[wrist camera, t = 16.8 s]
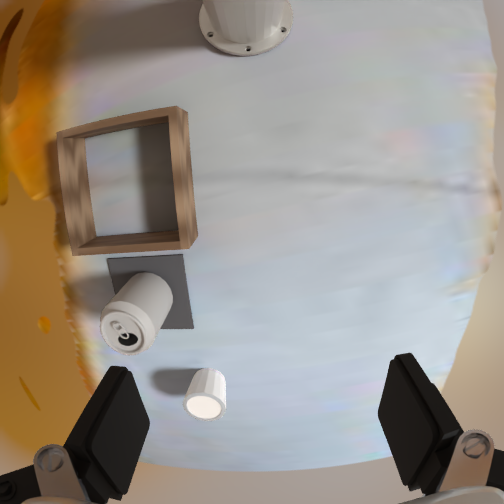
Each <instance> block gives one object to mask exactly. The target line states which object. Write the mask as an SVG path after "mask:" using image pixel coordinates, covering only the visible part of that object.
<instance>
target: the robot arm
mask: <svg viewBox="0 0 504 504" xmlns="http://www.w3.org/2000/svg"><path fill="white" fill-rule="evenodd" d="M202 2H203V4H202V6H201V9H200V12H199V25H200V29H201V31H202V33H203V35H204V37H205V38H206V39H207V41H208V42H209V43H210V44H211V45H213V46H214V47H215V48H217V49H219V50H221V51H223V52H225V53H229V54H232V55H239V56H252V55H257V54H262V53H264V52H267V51H270V50H271V49H273V48H275V47H277V46H278V45H279V44H280V43H282V42H283V41H284V39H285V38H286V37H287V36H288V34H289V32H290V30H291V27H292V23H293V10H292V7H291V5H290V3H289V1H288V0H202ZM281 31H285V32H281ZM210 35H213V36H212V37H210ZM247 49H250V51H246V50H247ZM378 418H379V421H380V423H381V426H382V428H383V431H384V434H385V436H386V439H387V442H388V444H389V447H390V450H391V452H392V455H393V458H394V460H395V463H396V466H397V469H398V472H399V474H400V477H401V480H402V483H403V485H405V486H406V485H408V488H409V490H410V491H413V490H416V489H420V488H421V491H422V493H423V496H422V497H421V498H417V499H414V500H411V501H407V502H403V503H400V504H504V451H501V450H497V449H494V442H493V439H492V438H491V436H490V435H489V434H487V433H486V432H484V431H481V430H475V429H474V430H468V431H466V432H464V431H463V430H462V428H461V426H460V425H459V423H458V422H457V420H456V418H455V416H454V415H453V413H452V411H451V410H450V408H449V406H448V405H447V403H446V402H445V400H444V398H443V397H442V395H441V394H440V392H439V391H438V389H437V387H436V386H435V385H434V384H433V383H431V382H430V380H429V379H428V377H427V376H426V374H425V373H424V371H423V369H422V368H421V366H420V365H419V363H418V362H417V360H416V359H415V357H414V356H413V354H412V353H405V354H400V355H396V356H395V358H394V359H393V360H391V361H390V365H389V369H388V373H387V378H386V382H385V386H384V390H383V394H382V398H381V401H380V405H379V409H378ZM149 426H150V421H149V418H148V415H147V413H146V410H145V407H144V405H143V402H142V400H141V397H140V394H139V391H138V389H137V386H136V383H135V380H134V377H133V375H132V372H131V371H128V369H127V368H126V367H120V366H110V368H109V369H108V371H107V372H106V374H105V376H104V377H103V379H102V380H101V382H100V384H99V385H98V387H97V389H96V390H95V392H94V394H93V395H92V397H91V399H90V400H89V402H88V404H87V405H86V407H85V409H84V410H83V412H82V414H81V416H80V417H79V419H78V421H77V422H76V424H75V426H74V428H73V430H72V431H71V433H70V435H69V437H68V438H67V440H66V442H65V444H64V446H63V447H62V446H60V445H56V444H50V445H46V446H44V447H42V448H40V449H39V450H38V451H37V453H36V454H35V456H34V459H33V463H34V464H33V465H30V466H28V467H25V468H22V469H19V470H16V471H13V472H10V473H7V474H4V475H1V476H0V504H107V502H108V499H109V498H112V499H116V500H120V501H121V499H122V495H123V494H124V495H125V494H126V493H127V492H128V488H129V486H130V483H131V479H132V476H133V474H134V471H135V467H136V464H137V462H138V459H139V456H140V453H141V450H142V447H143V444H144V441H145V438H146V435H147V433H148V430H149Z"/></svg>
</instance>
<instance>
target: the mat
mask: <svg viewBox="0 0 504 504" xmlns="http://www.w3.org/2000/svg"><path fill="white" fill-rule="evenodd" d="M108 263H109V268H110V273H111V278H112V282H113V286H114V291H115V295H116V294H117V293H118V292H119V291H120V290H121V289H122V287H123V286H124V285H125V284H126V283H127V282H128V281H129V280H130V279H131V278H132V277H133V276H135V275H136V274H138V273H143V272H147V273H153V274H155V275H157V276H160V277H161V278H162V279H163V280H164V281H166V283H167V284H168V286H169V287H170V289H171V292H172V295H173V303H172V306H171V309H170V311H169V313H168V315H167V317H166V318H165V320H164V322H163V324H162V326H161V328H160V329H194V325H193V319H192V313H191V307H190V301H189V294H188V288H187V281H186V274H185V267H184V260H183V254H178V255H160V256H142V257H123V258H109V259H108Z"/></svg>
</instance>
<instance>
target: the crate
mask: <svg viewBox="0 0 504 504" xmlns="http://www.w3.org/2000/svg"><path fill="white" fill-rule="evenodd" d="M166 122H169V133H170V147H171V160H172V172H173V183H174V193H175V203H176V212H177V221H178V229H179V230H175V231H161V232H148V233H136V234H123V235H111V236H100V237H96V231H95V225H94V219H93V212H92V205H91V198H90V190H89V182H88V172H87V162H86V150H85V138H88V137H92V136H97V135H101V134H106V133H110V132H115V131H120V130H125V129H130V128H136V127H141V126H147V125H153V124H159V123H166ZM57 149H58V162H59V172H60V181H61V190H62V197H63V204H64V211H65V217H66V223H67V229H68V234H69V240H70V245H71V250H72V255H73V256H80V255H96V254H112V253H128V252H145V251H162V250H179V249H189V248H190V247H191V245H192V244H193V242H194V241H195V240H196V238H197V237H198V231H197V222H196V212H195V202H194V191H193V180H192V168H191V155H190V142H189V127H188V112H186V111H184V110H183V109H181V108H179V107H177V106H172V107H166V108H160V109H154V110H148V111H143V112H137V113H132V114H127V115H122V116H118V117H113V118H109V119H105V120H100V121H96V122H92V123H88V124H84V125H81V126H77V127H73V128H70V129H66V130H63V131H59V132H57Z"/></svg>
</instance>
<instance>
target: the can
mask: <svg viewBox="0 0 504 504" xmlns="http://www.w3.org/2000/svg"><path fill="white" fill-rule="evenodd" d="M172 303H173V295H172V292H171V289H170V287H169V286H168V284H167V283H166V281H164V280H163V279H162V278H161V277H160V276H157V275H155V274H153V273H147V272H143V273H138V274H136V275H135V276H133V277H132V278H131V279H130V280H129V281H128V282H127V283H126V284H125V285H124V286H123V287H122V289H121V290H120V291H119V292H118V293H117V294H116V295H115V296H114V297H113V299H112V300H111V301H110V302H109V303H108V304H107V305H106V307H105V308H104V309H103V311H102V313H101V318H100V322H101V324H100V331H101V335H102V337H103V339H104V341H105V342H106V343H107V344H108V346H110V347H111V348H112V349H113V350H115V351H117V352H119V353H121V354H124V355H136V354H139V353H141V352H143V351H145V350H147V349H149V348H150V347H151V345H152V344H153V343H154V340H155V338H156V336H157V334H158V332H159V330H160V328H161V326H162V324H163V322H164V320H165V318H166V317H167V315H168V313H169V311H170V309H171V306H172Z"/></svg>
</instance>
